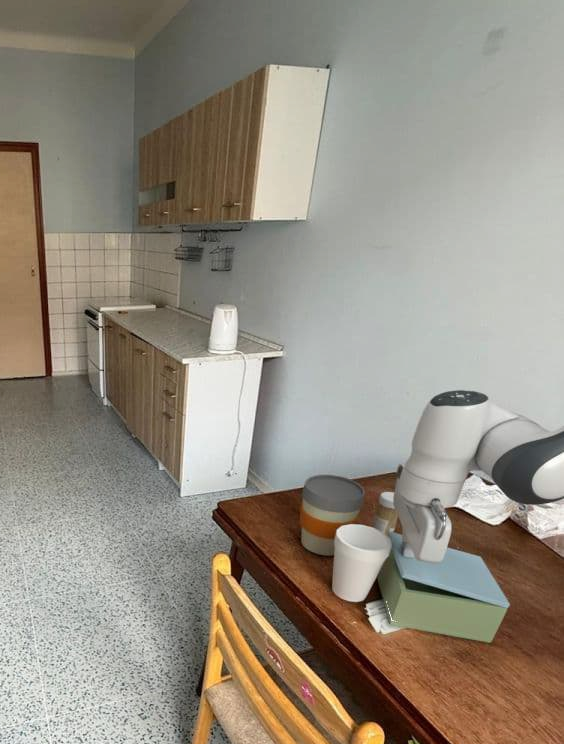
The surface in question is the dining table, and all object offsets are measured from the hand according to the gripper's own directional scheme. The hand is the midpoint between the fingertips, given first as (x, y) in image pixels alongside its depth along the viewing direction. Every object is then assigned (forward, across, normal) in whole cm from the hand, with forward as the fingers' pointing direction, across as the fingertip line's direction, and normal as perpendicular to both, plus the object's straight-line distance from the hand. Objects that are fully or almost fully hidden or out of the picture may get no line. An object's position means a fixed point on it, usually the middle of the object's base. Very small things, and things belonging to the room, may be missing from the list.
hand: (406, 553), depth 86 cm
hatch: (+2, 0, -6) cm, 7 cm away
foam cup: (+12, +1, +7) cm, 14 cm away
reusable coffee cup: (+12, +17, +11) cm, 24 cm away
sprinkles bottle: (+12, +19, -1) cm, 22 cm away
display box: (+12, 0, -7) cm, 13 cm away
